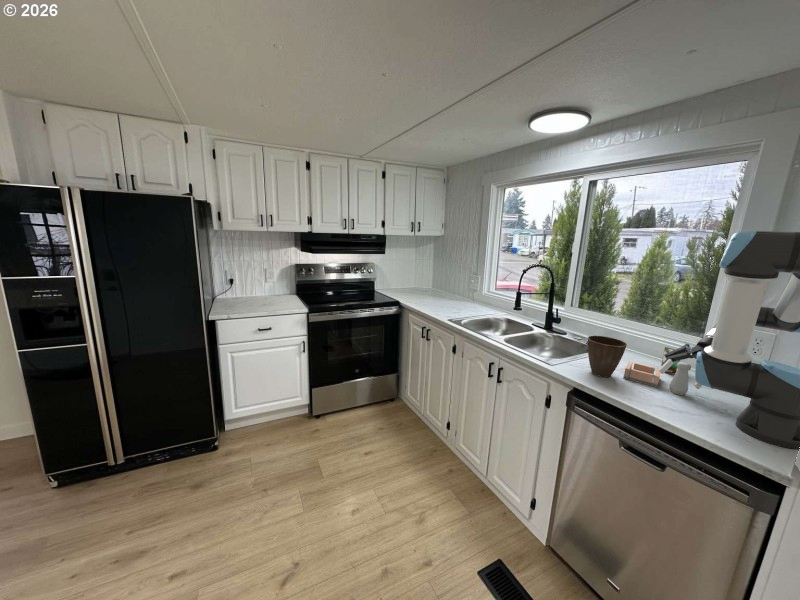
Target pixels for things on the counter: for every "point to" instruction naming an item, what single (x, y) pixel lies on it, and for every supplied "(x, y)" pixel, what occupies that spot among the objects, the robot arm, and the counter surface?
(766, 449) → the counter surface
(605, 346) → the plant pot
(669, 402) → the counter surface
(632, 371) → the socket board
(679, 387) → the salt shaker
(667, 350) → the food container
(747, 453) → the counter surface
